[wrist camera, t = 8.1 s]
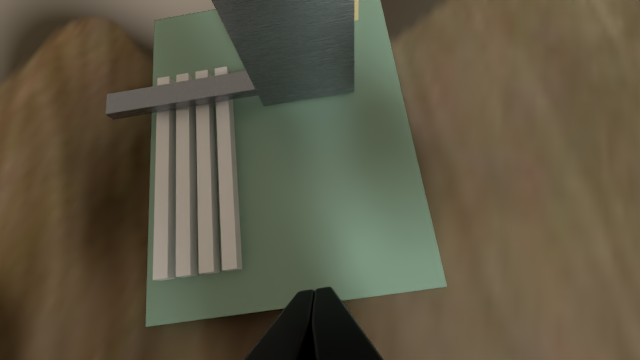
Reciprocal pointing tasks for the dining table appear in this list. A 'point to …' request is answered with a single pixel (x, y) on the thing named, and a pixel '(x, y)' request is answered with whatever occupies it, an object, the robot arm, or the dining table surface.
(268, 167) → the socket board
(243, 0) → the orange-rimmed grey tower
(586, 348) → the dining table surface
